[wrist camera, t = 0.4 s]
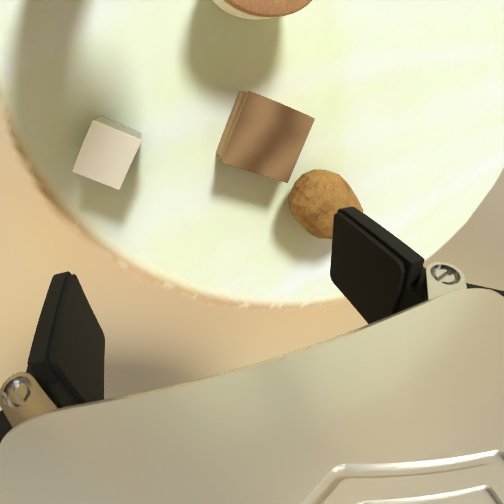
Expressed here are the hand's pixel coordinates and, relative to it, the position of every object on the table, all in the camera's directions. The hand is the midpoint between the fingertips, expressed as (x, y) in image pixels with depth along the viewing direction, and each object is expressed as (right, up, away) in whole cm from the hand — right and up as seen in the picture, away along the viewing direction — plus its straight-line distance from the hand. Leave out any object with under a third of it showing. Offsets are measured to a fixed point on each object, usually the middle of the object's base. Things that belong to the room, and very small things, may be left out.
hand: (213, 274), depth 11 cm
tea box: (+2, +17, +31) cm, 36 cm away
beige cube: (-17, +14, +25) cm, 34 cm away
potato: (+11, +10, +39) cm, 42 cm away
